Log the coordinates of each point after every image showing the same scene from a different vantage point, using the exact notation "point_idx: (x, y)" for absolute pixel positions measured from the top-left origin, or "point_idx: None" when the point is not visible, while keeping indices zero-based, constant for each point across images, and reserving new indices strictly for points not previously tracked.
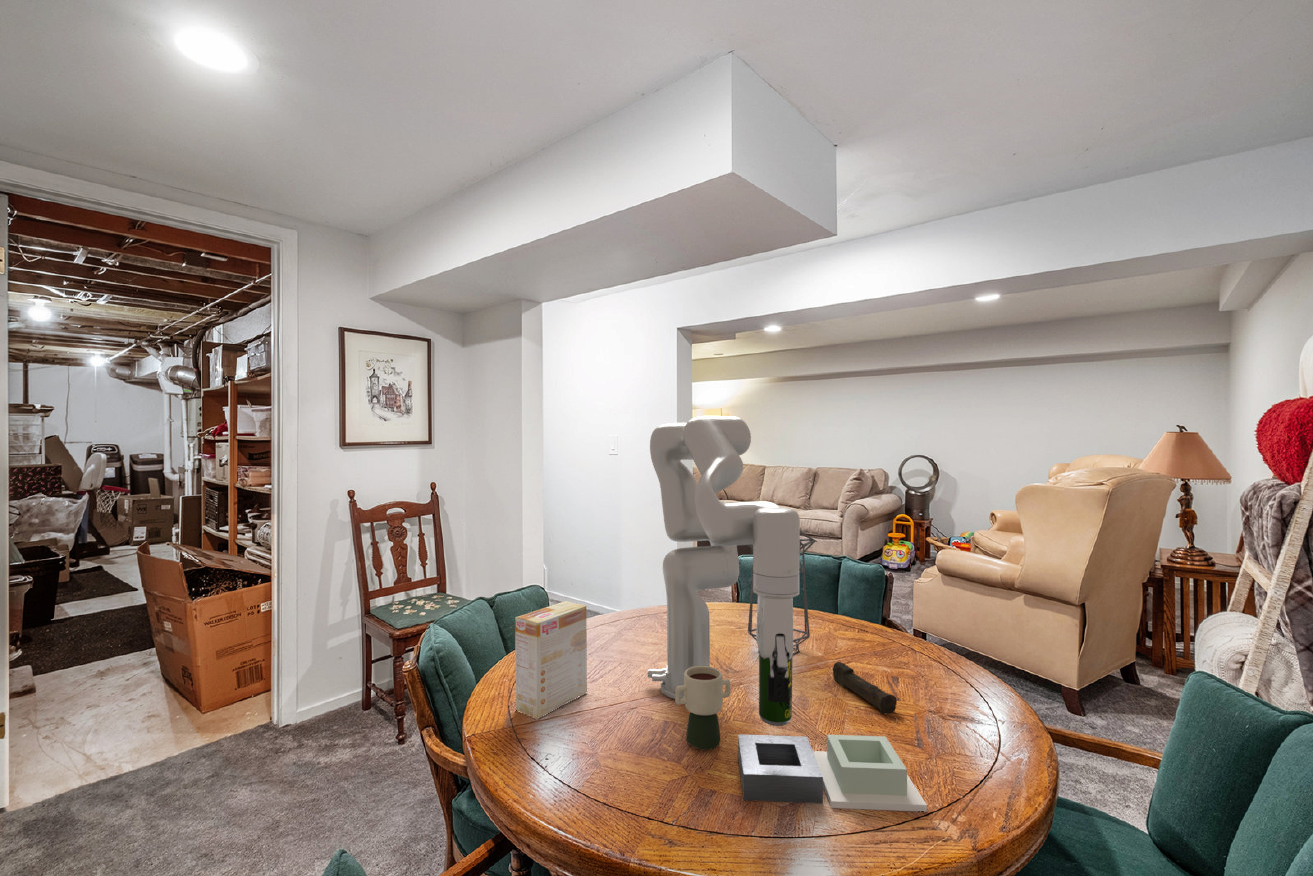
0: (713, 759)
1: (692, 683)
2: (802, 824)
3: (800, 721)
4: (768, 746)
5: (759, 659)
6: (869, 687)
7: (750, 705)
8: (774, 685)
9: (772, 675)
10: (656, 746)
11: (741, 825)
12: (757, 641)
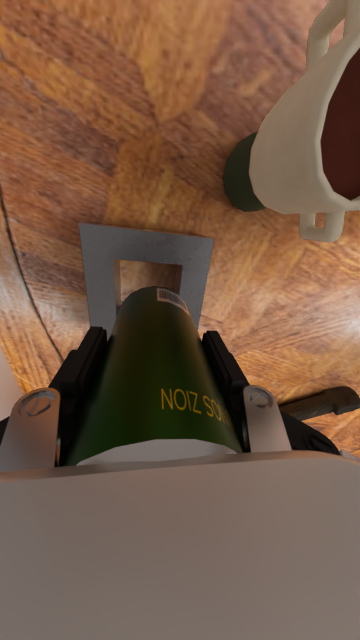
0: (202, 189)
1: (342, 44)
2: (53, 292)
3: (272, 336)
4: (179, 285)
5: (152, 395)
6: (296, 418)
7: (334, 283)
8: (53, 378)
9: (18, 410)
10: (265, 47)
11: (26, 204)
12: (260, 500)
